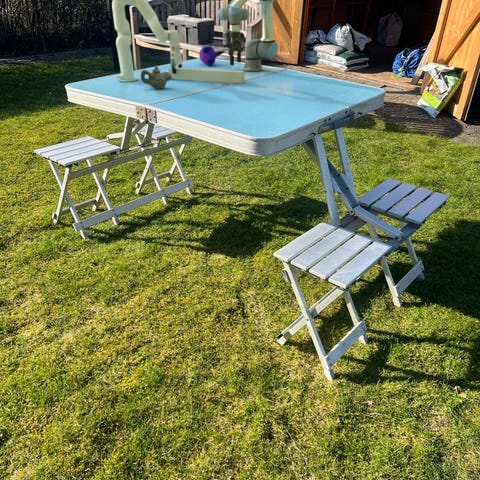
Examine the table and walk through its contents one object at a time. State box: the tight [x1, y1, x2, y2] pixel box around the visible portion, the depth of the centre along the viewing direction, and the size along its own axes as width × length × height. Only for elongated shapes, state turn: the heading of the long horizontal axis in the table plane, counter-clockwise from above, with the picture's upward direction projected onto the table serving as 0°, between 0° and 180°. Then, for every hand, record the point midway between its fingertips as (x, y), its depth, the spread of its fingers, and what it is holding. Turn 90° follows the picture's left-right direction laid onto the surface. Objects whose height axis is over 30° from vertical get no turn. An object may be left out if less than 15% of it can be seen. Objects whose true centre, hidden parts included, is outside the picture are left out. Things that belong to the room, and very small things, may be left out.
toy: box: [198, 45, 226, 67], centre depth 391 cm, size 16×18×27 cm
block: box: [167, 66, 246, 84], centre depth 335 cm, size 60×6×8 cm, turn 69°
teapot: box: [140, 65, 172, 90], centre depth 311 cm, size 21×12×15 cm, turn 109°
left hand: (177, 72), depth 343 cm, fingers open, 9 cm apart
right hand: (235, 63), depth 323 cm, fingers open, 13 cm apart
